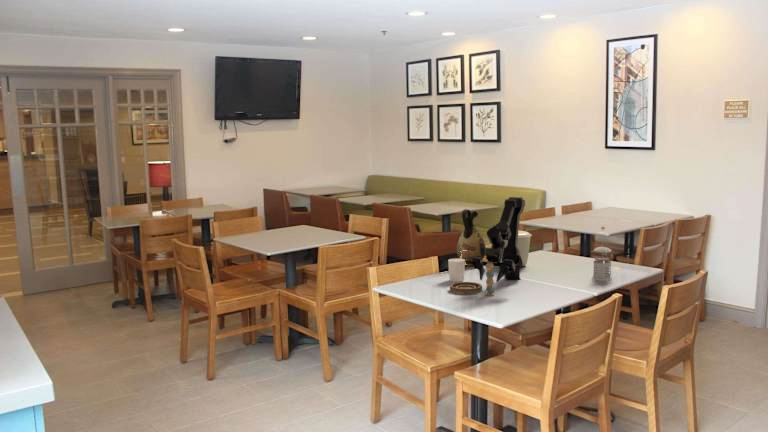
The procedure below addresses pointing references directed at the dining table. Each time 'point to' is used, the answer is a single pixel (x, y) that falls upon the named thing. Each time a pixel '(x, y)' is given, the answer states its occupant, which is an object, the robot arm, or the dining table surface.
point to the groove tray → (465, 288)
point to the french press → (602, 265)
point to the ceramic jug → (470, 239)
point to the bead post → (489, 279)
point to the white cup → (456, 269)
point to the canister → (522, 245)
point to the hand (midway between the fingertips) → (488, 280)
